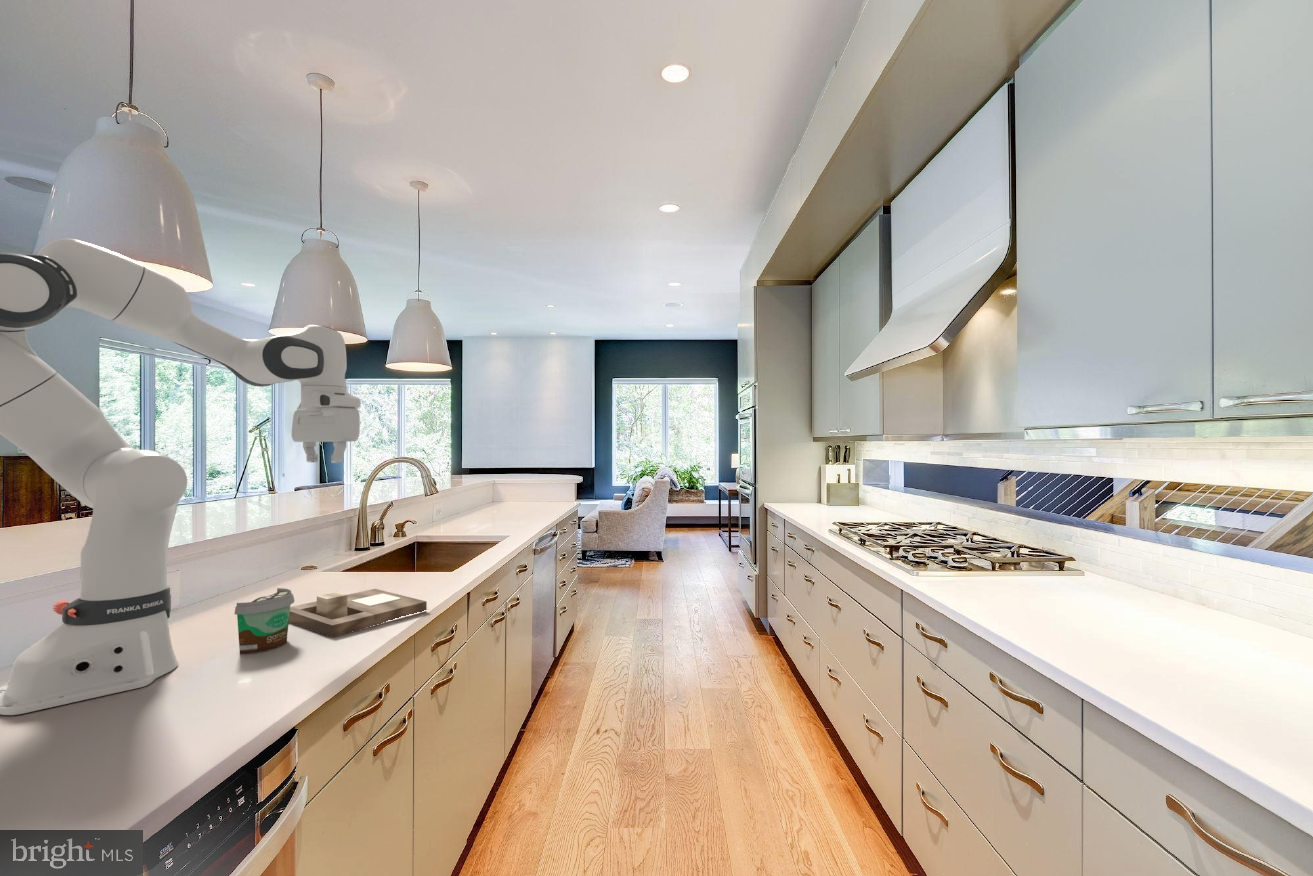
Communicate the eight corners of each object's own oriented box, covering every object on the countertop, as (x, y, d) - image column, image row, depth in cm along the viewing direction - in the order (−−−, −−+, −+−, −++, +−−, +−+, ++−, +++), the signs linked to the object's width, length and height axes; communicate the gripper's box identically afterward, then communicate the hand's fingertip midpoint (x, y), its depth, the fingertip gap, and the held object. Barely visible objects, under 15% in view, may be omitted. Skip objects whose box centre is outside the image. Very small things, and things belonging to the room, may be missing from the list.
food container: (265, 657, 107) (266, 603, 107) (233, 657, 107) (234, 603, 107) (307, 635, 119) (308, 587, 119) (278, 635, 119) (279, 587, 119)
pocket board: (332, 637, 118) (332, 624, 118) (282, 619, 130) (282, 607, 130) (426, 611, 136) (426, 600, 136) (375, 598, 148) (375, 588, 148)
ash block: (326, 626, 125) (327, 599, 125) (316, 622, 128) (316, 596, 128) (347, 621, 129) (347, 594, 129) (336, 617, 131) (337, 591, 131)
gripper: (283, 401, 128) (283, 462, 128) (337, 397, 118) (337, 463, 118) (311, 403, 134) (312, 461, 134) (365, 399, 124) (365, 462, 124)
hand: (324, 462), depth 126 cm, fingers open, 8 cm apart
